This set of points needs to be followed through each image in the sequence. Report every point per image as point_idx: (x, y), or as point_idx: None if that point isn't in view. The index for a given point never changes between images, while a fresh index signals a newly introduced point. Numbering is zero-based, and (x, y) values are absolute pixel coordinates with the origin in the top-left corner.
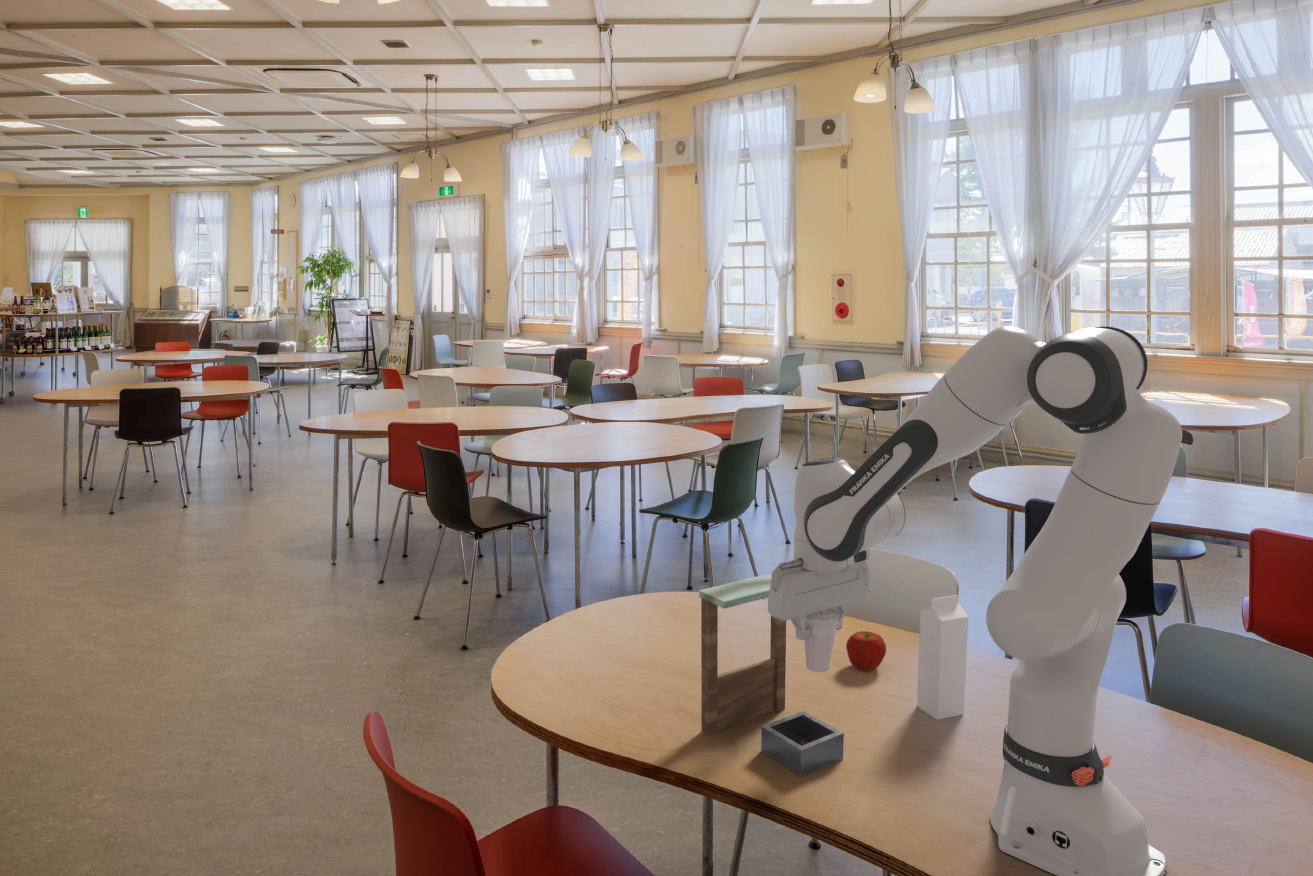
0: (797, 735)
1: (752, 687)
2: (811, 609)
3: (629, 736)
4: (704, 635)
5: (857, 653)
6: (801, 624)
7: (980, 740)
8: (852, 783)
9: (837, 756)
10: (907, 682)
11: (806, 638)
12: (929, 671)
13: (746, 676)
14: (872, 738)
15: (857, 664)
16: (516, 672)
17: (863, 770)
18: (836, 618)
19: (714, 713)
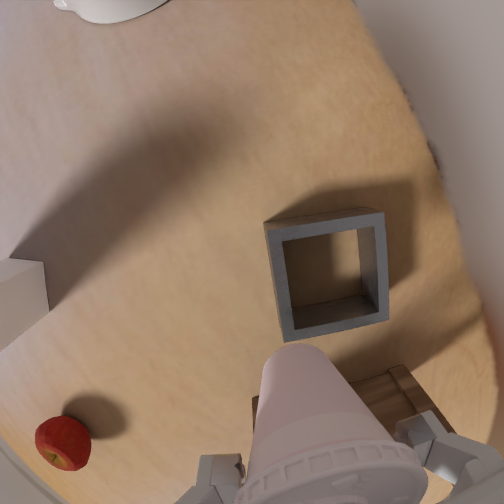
0: (301, 311)
1: None
2: (482, 501)
3: (465, 385)
4: None
5: (79, 443)
6: (474, 446)
7: (26, 181)
8: (299, 148)
9: (278, 221)
10: (36, 370)
11: (410, 417)
12: (1, 312)
13: None
14: (168, 259)
15: (84, 431)
16: (442, 495)
17: (254, 173)
18: (305, 480)
19: (407, 385)
